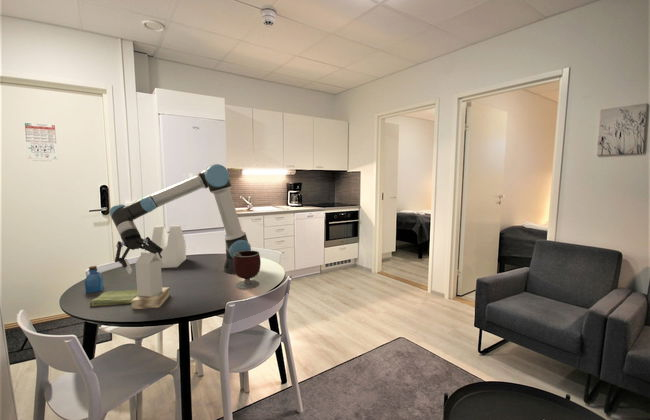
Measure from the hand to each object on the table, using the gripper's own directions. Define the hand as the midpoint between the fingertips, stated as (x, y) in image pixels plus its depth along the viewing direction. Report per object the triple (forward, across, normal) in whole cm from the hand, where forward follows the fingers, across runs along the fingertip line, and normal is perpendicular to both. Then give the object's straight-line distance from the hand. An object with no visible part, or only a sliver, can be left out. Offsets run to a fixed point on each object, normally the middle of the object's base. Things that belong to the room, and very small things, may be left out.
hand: (146, 268), depth 139 cm
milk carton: (+10, 0, -6) cm, 12 cm away
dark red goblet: (+26, -39, +5) cm, 47 cm away
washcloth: (+2, +8, -21) cm, 22 cm away
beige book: (+12, 0, -9) cm, 15 cm away
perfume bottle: (-15, +8, -37) cm, 41 cm away
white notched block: (-25, -38, -48) cm, 66 cm away
